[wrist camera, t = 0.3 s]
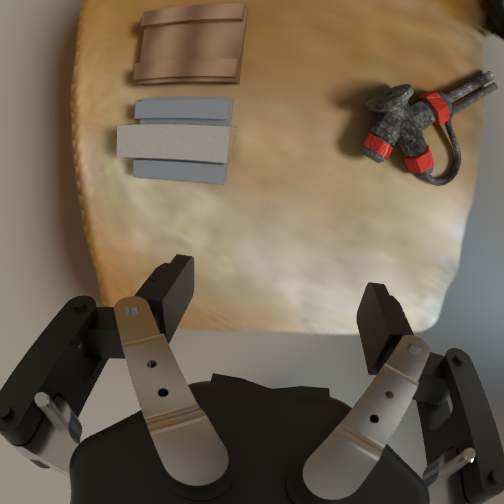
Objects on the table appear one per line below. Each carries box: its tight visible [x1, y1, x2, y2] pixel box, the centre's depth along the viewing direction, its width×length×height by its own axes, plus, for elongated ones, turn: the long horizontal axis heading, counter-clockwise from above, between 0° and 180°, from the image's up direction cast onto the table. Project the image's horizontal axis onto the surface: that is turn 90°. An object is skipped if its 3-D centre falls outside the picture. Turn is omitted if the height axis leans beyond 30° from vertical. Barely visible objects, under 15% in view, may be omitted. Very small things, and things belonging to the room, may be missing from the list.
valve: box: [362, 71, 498, 186], centre depth 27 cm, size 6×26×15 cm
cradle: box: [133, 4, 248, 85], centre depth 27 cm, size 13×11×3 cm
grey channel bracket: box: [133, 97, 233, 185], centre depth 33 cm, size 12×11×3 cm
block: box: [117, 123, 237, 163], centre depth 31 cm, size 14×4×4 cm, turn 84°
